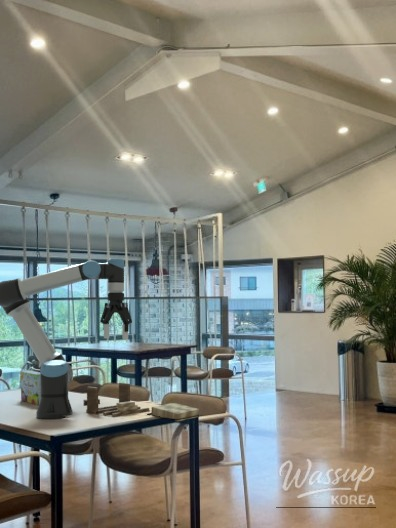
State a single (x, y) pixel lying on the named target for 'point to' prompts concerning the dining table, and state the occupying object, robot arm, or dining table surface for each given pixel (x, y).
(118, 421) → the dining table surface
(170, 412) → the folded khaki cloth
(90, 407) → the rack
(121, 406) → the offcut stack
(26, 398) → the snack box
